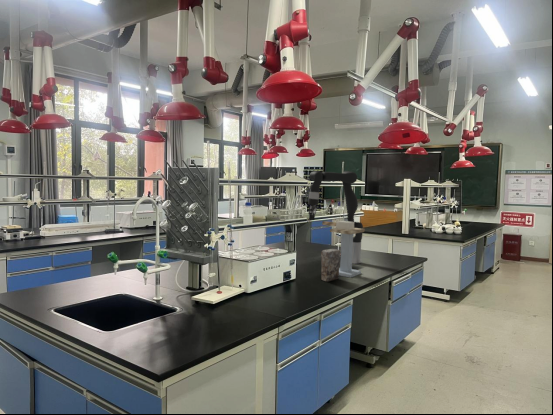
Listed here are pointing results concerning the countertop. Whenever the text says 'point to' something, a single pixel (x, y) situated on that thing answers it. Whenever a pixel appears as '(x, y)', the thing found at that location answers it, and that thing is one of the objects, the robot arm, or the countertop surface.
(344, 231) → the shelf stand
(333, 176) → the robot arm
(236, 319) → the countertop surface
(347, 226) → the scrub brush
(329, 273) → the stone block
